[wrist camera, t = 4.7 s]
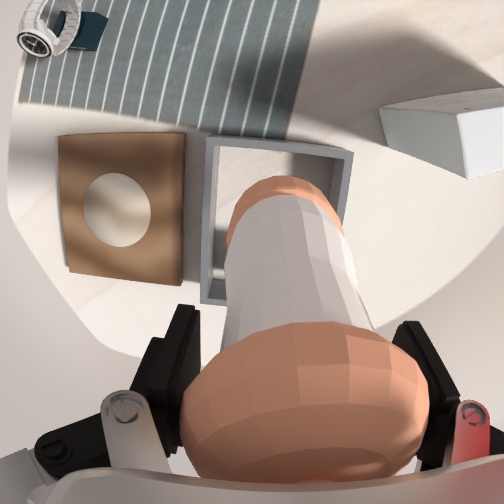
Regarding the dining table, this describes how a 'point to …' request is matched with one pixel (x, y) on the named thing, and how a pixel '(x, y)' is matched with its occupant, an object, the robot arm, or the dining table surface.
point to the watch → (60, 29)
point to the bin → (209, 287)
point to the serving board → (123, 205)
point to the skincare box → (450, 130)
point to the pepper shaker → (299, 357)
